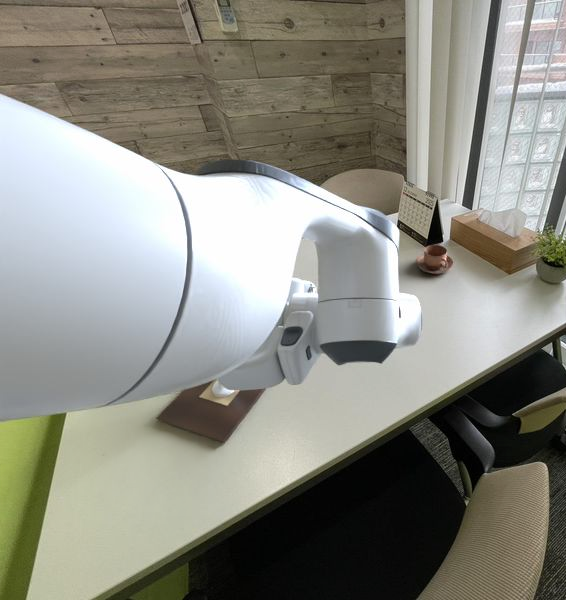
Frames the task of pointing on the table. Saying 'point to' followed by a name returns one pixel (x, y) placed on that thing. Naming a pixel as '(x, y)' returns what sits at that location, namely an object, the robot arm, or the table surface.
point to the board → (209, 411)
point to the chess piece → (220, 390)
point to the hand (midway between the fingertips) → (209, 326)
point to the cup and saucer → (435, 260)
